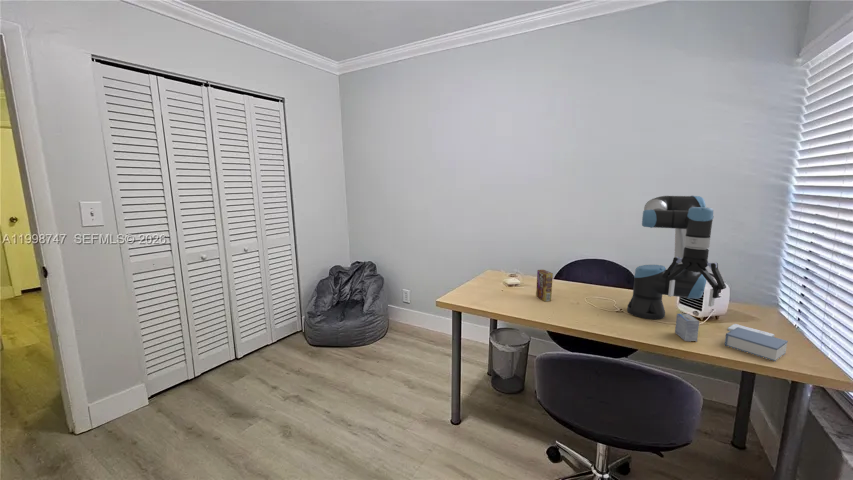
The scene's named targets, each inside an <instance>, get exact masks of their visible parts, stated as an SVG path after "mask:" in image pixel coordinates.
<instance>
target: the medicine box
mask: <svg viewBox="0 0 853 480" xmlns="http://www.w3.org/2000/svg"><path fill="white" fill-rule="evenodd" d="M699 327H700V320H698V319H697V318H696V317H693V316H692V315H691V314H688V313H676V320H675V329H674V333H675V334H676V335H678V337H680V339H682V340H683V341H685V342H691V341H696V343H697V342H698V338H699Z"/></svg>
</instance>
